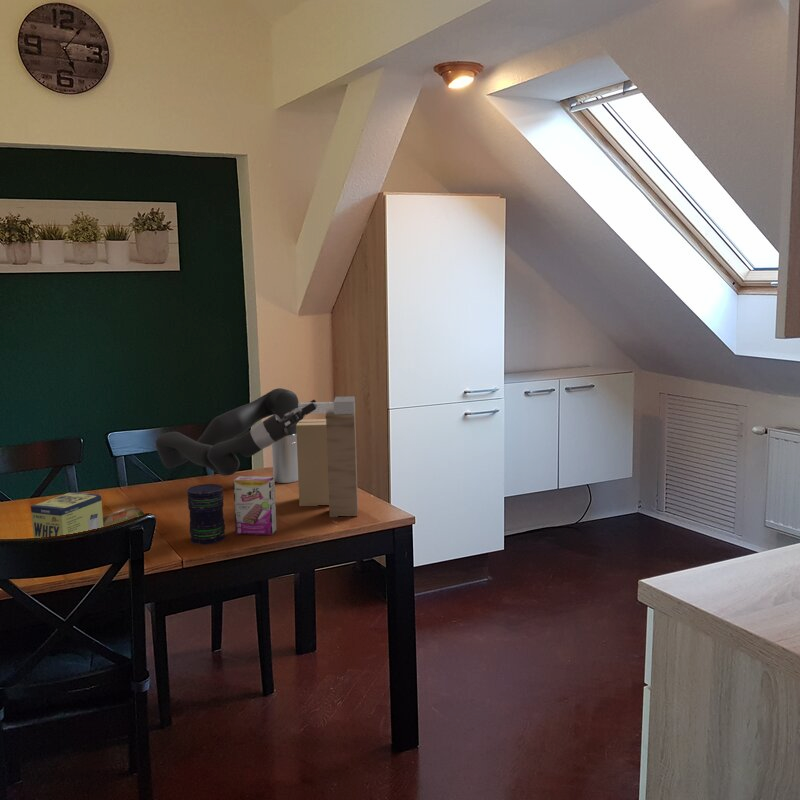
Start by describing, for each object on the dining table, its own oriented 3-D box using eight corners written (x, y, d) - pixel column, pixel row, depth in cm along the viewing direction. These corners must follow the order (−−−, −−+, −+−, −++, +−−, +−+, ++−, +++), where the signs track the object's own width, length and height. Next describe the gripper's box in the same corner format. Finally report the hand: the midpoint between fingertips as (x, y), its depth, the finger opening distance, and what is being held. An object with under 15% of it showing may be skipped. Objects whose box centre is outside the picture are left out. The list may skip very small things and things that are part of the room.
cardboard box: (302, 497, 279) (299, 419, 275) (338, 496, 279) (335, 418, 275) (299, 506, 269) (296, 425, 265) (336, 505, 269) (333, 424, 265)
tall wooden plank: (331, 508, 266) (328, 409, 261) (358, 507, 267) (355, 408, 261) (329, 519, 255) (325, 415, 249) (357, 518, 255) (354, 415, 250)
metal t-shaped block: (300, 410, 260) (299, 397, 260) (355, 408, 260) (354, 396, 260) (297, 416, 250) (296, 402, 250) (354, 414, 251) (353, 401, 250)
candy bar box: (235, 535, 241) (232, 480, 239) (240, 529, 246) (237, 475, 244) (273, 535, 240) (270, 480, 238) (277, 530, 245) (274, 475, 243)
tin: (105, 547, 234) (102, 518, 232) (97, 545, 235) (95, 516, 234) (147, 532, 246) (145, 504, 245) (139, 530, 248) (137, 503, 246)
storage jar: (193, 534, 243) (190, 484, 240) (227, 533, 243) (224, 483, 241) (187, 546, 233) (184, 494, 230) (223, 544, 234) (220, 492, 231)
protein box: (34, 562, 222) (29, 505, 220) (77, 544, 237) (72, 490, 234) (65, 566, 219) (60, 509, 216) (106, 547, 233) (102, 493, 230)
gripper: (278, 437, 264) (323, 410, 263) (272, 447, 249) (320, 418, 248) (265, 417, 262) (310, 389, 261) (258, 426, 248) (306, 397, 247)
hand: (315, 403), depth 255 cm, fingers open, 6 cm apart
